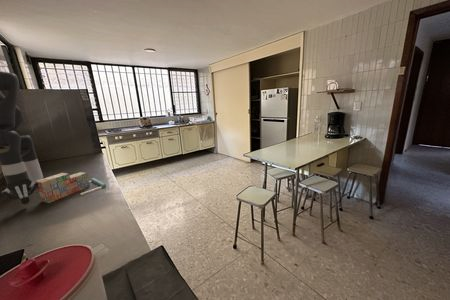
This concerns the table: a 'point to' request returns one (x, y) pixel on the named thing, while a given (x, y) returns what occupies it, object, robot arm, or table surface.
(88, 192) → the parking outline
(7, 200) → the table surface
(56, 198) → the stack of blocks
